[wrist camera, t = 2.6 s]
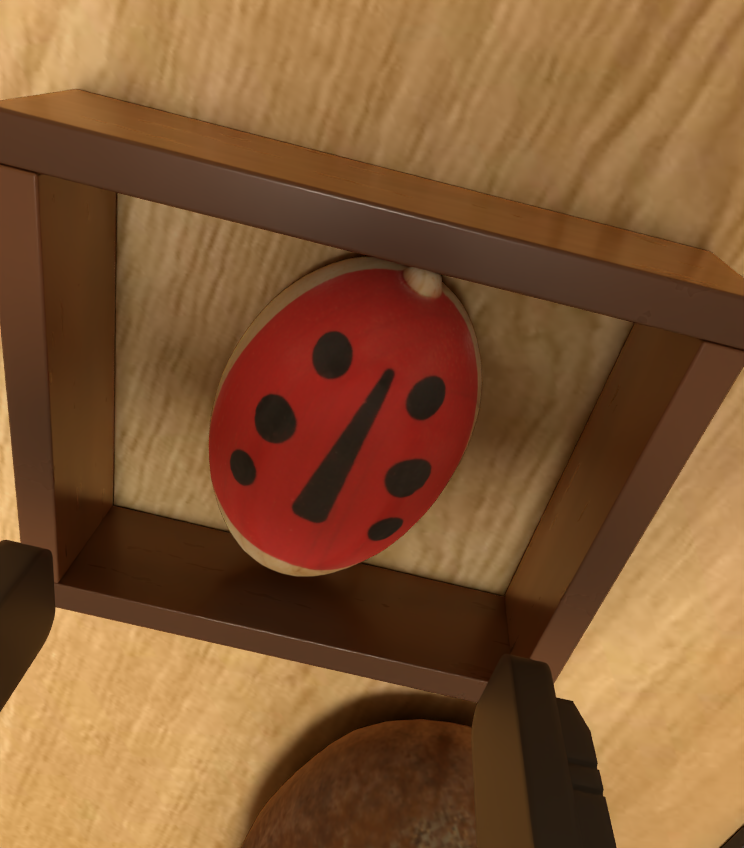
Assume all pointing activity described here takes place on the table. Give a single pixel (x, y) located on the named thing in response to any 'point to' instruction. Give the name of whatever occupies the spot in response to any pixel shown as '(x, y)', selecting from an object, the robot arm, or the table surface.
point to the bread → (378, 792)
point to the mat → (736, 840)
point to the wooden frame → (369, 235)
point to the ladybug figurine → (343, 414)
